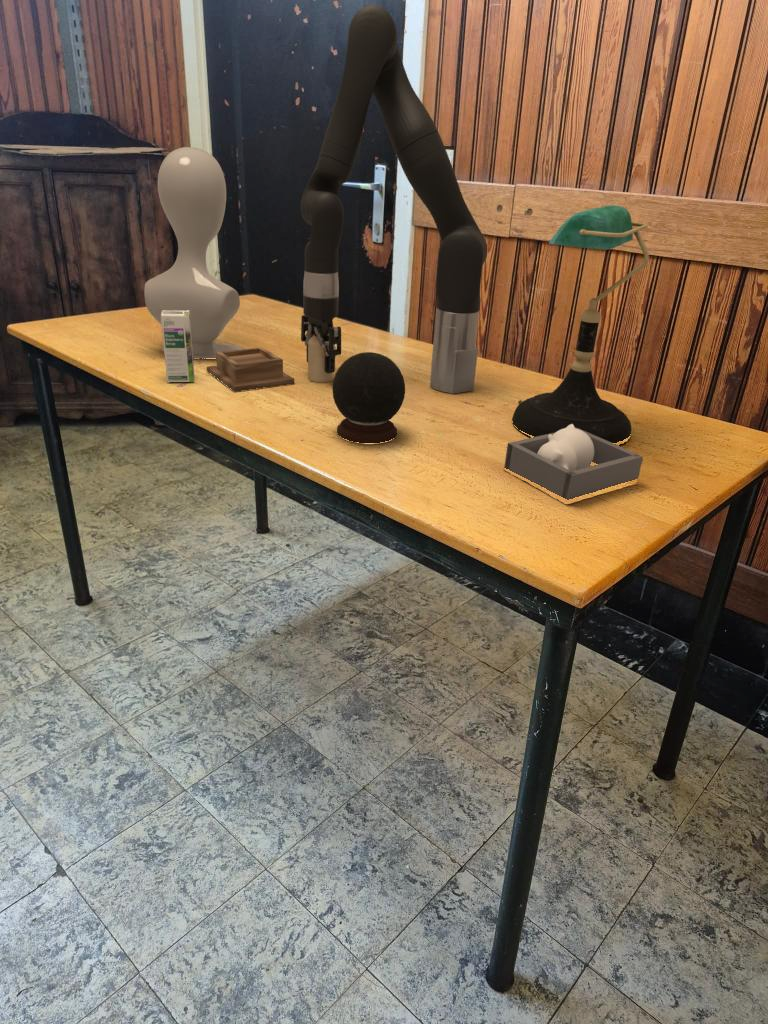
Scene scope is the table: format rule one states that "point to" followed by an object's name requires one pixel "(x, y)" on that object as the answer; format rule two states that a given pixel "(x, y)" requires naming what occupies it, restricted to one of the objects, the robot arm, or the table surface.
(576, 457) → the cat figurine
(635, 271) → the banker's lamp
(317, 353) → the candle
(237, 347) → the mannequin bust
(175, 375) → the syrup box
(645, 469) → the table surface
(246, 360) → the display pedestal
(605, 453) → the figurine tray
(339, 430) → the black crystal ball
